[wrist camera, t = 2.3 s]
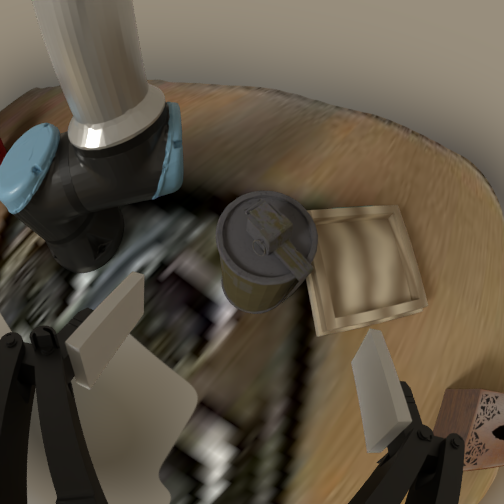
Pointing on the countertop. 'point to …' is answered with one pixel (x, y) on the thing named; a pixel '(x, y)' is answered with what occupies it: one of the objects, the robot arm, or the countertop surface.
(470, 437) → the tissue box cover
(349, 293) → the square tray
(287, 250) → the canister
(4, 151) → the plastic cup
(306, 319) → the countertop surface
